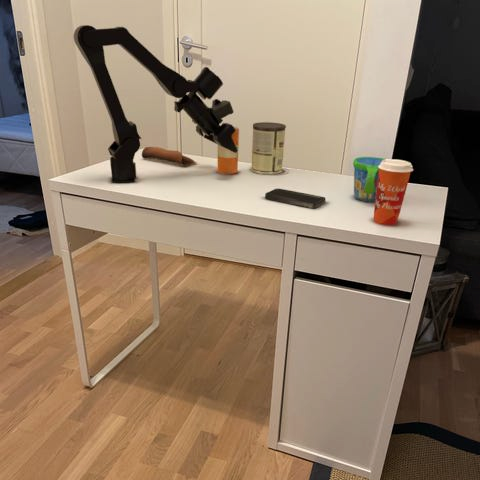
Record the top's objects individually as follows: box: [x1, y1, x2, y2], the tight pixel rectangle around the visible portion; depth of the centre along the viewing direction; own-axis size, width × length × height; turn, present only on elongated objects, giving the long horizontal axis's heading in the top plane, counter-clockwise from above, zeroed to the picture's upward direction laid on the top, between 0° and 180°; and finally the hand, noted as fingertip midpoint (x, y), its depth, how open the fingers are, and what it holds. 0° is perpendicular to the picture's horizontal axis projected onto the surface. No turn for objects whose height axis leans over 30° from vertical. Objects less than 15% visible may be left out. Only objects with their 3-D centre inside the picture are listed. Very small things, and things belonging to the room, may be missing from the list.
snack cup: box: [352, 156, 387, 203], centre depth 132 cm, size 16×10×10 cm
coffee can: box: [250, 121, 287, 175], centre depth 155 cm, size 10×10×14 cm
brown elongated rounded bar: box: [141, 146, 197, 168], centre depth 164 cm, size 18×7×7 cm, turn 57°
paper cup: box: [372, 158, 414, 226], centre depth 114 cm, size 8×8×14 cm
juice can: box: [216, 126, 240, 175], centre depth 151 cm, size 6×6×13 cm
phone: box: [264, 188, 326, 209], centre depth 130 cm, size 8×1×15 cm
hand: (231, 149), depth 152 cm, fingers closed on juice can, 6 cm apart
